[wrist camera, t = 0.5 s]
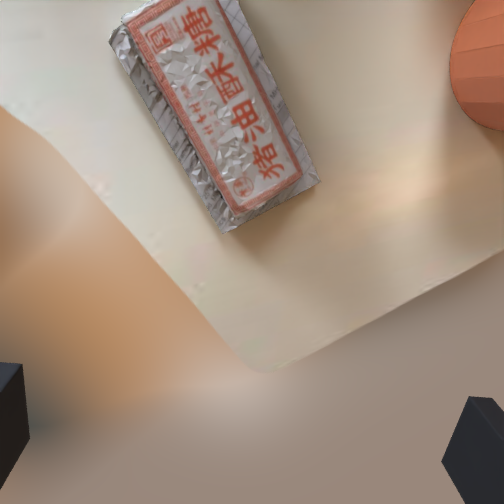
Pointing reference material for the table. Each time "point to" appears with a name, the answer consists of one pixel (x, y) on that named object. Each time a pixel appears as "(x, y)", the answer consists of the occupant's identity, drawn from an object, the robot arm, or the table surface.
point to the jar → (480, 63)
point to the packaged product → (215, 105)
